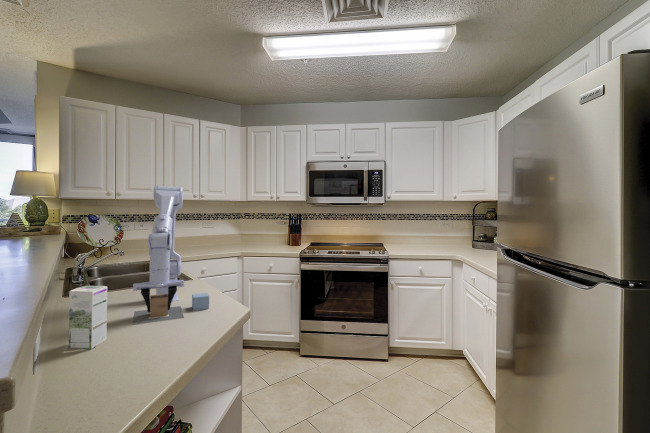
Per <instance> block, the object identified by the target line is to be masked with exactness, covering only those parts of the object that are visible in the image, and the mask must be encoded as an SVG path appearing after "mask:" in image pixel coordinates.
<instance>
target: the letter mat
mask: <svg viewBox="0 0 650 433" xmlns="http://www.w3.org/2000/svg"><path fill="white" fill-rule="evenodd" d="M184 318H185V315H184V313H183V310H182V307H181V306H179V305H178V306H170V310H168V316H162V317H154V318H150V312H148V310H147V309H145V310H137V311H134V313H133V320H132V325H133V326H135V325H141V324H142V325H143V324H150V323H151V324H152V323H157V322H164V321H172V320H179V319H184Z"/></svg>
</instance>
